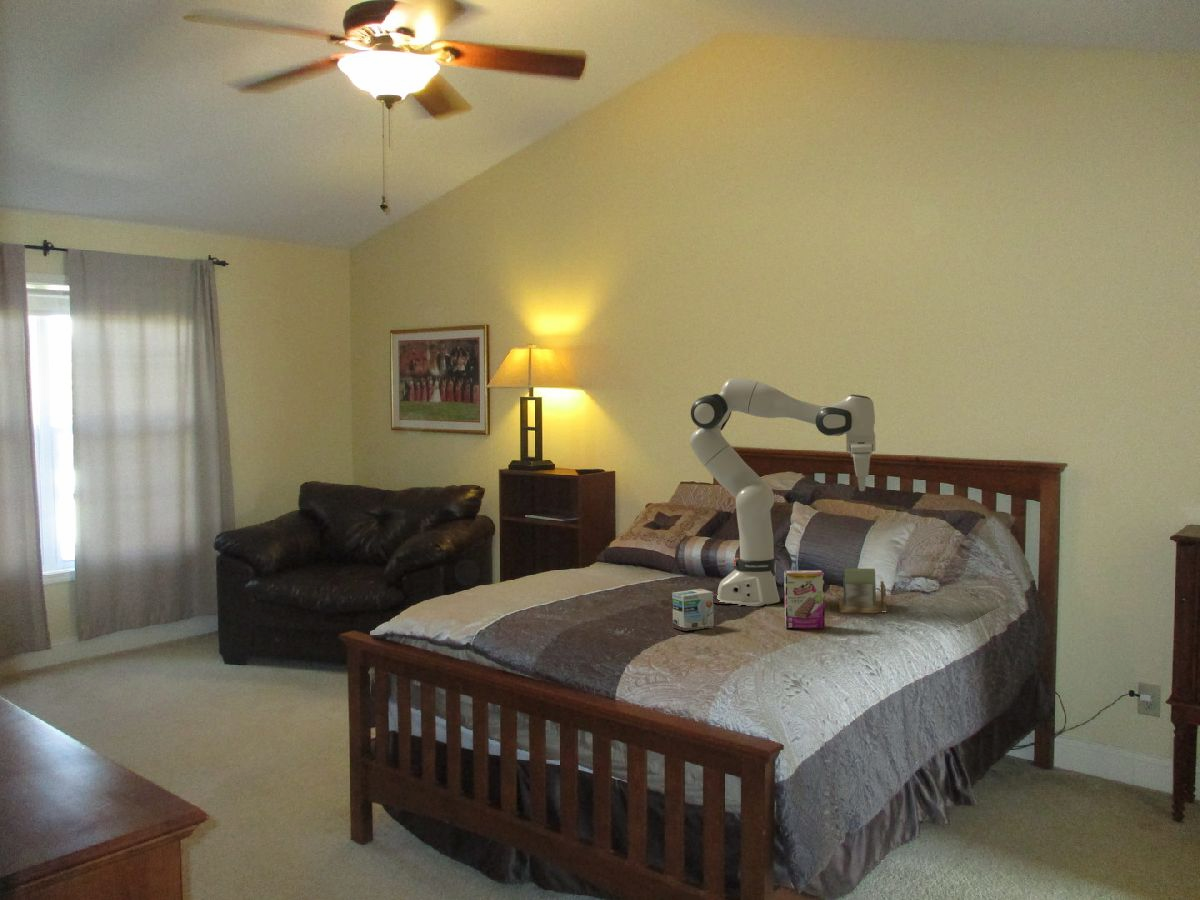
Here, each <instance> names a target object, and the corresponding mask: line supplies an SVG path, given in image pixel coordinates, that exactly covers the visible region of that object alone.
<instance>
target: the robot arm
mask: <svg viewBox="0 0 1200 900" xmlns="http://www.w3.org/2000/svg"><path fill="white" fill-rule="evenodd" d="M873 401H874V400H872V399H871V397H869V396H867V395H866V396H865V395H861V394H849V395H848V396H846V397H845V398H844V399H842V400H840V401H838V402H836V403H832V404H830V405H826V406H825V405H824V406H823V405H822V406H821V405H818V404H814V403H810V402H807V401H802V400H800V399H796V398H794V397H792V396H790V395H788V394H787V393H785V392H783V391H781V390H779V389H777V388H775V387H773V386H771V385H769V384H767V383H763V382H760V381H757V380H752V379H746V378H741V377H731V378H728V379H727V380H726V381H725V382H723V384H722V387H721V389H720V392H719V393H714V394H713V393H712V394H707V395H704V396H702V397H699V398H697V400H695V402H694V403H693V404H692V406H691V409H690V417H691V420H692V422H693V423H694V425H696V426H697V428H696V429H695V430H694V431H693V432H692V433H691V435H690V437H689V445H690V447H691V448H692V450H693V452H694V454H695V456H696V457H697V459H698V460H699V461H700V463H701V464H702V465H703V466H704V468H705V469H706V470H707V471H708V472H709V474H711V476H712V477H713V478H714V479H715V480H716V482H717V483H718V484H719V485H720V486H721V487H722V488H724V489H725V490H726V491H727V492H729V494H731V496H732V497H733V498H735V508H736V519H737V520H736V521H737V529H738V533H739V536H738V537H739V557H736V558H734V559H733V569H734V570H733V571H731V572H730V573H728V575H726V576H725V577H724V578H723V579H722V580H721V581H720V582H719V583H718V584H719V585H718V588H717V594H718V595H717V594H716V595H717V599H718V600H720V601H719V602H725V603H732V604H738V605H737V606H741V605H746V606H745V607H762V606H764V605H765V604H766V605H772V604H776V603H779V602H780V601H781V598H780V596H779V592H778V591H779V590H778V588H777V583H776V573H777V565H776V564H777V563H776V558H775V556H774V554H775V553H774V552H775V551H774V549H775V547H774V533H773V531H774V530H773V525H772V514H771V510H772V507H773V506H774V503H775V494H774V491H773V490H772V488H771V486H769V485H768V484H767V483H766V481H765V480H763V479H762V478H761V476H759V474H758V473H756V471H755V470H753V469H752V468H751V466H749V464H747V463H746V461H744V459H743V458H742V457H741V456H740V454H739V453H737V451H736V450H735V449H734V448H733V446H732V445H731V444H730V443H729V442H728V441H727V440H726V438H725V437H724V436H723V434H722V430H724V427H725V426H726V424H727V423H728V421H729V420H730V417H731V415H732V412H740V413H744V414H747V415H750V416H754V417H756V418H757V417H759V418H765V419H766V418H768V419H776V418H777V419H778V418H789V419H795V420H797V421H801V422H805V423H809V424H812V425H815V426H816V428H817V430H818V431H819V432H820V433H821V434H823V435H825V436H828V437H838V436H839V437H840V436H843V435H846V437H845V441H846V452H848V453H850V458H852V459H853V464H854V474H855V477H857V485H858V491H860V492H865V491H866V478H867V477H868V476H869V472H870V461H871V457H872V453H873V452H876V434H875V424H876V417H875V416H876V415H875V414H876V412H875V406H874V402H873Z"/></svg>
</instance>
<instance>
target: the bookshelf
mask: <svg viewBox="0 0 1200 900" xmlns="http://www.w3.org/2000/svg"><path fill="white" fill-rule="evenodd" d="M842 581H843V582H842V583H843V598H841V599H839V598H838V607H839V613H859V614H860V613H861V614H862V613H864V614H870V613H871V614H872V613H873V614H879V613H878V612H882V611H888V609H887V593H886V590H887V589H886V586H885V583H884V580H880V599H876V606H873V587H872V584H846V595H845V577H843V579H842Z"/></svg>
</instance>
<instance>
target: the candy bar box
mask: <svg viewBox="0 0 1200 900" xmlns="http://www.w3.org/2000/svg"><path fill="white" fill-rule="evenodd" d="M783 575H784V576H783V581H784V582H783V583H784V585H783V587H784V591H783V592H784V626H785V628H793V629H792V630H825V626H826V624H825V623H826V622H825V619H826V616H825V615H826V614H825V610H826V609H825V608H826V607H825V573H824V571H823V570H784V572H783Z"/></svg>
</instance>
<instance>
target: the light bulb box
mask: <svg viewBox="0 0 1200 900" xmlns="http://www.w3.org/2000/svg"><path fill="white" fill-rule="evenodd" d="M671 596H672V597H671V602H672V604H671V605H672V624H673V623H674V624H676V625H678V626H680V627H683V628H691V627H704V626H705V627H706V626H714V627H715V623H714V622H715V620H714V619H715V618H714V614H715V613H714V604H713V596H714V591H710V590H708V589H704V588H695V589H690V590H682V591H675V592H672V593H671Z"/></svg>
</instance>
